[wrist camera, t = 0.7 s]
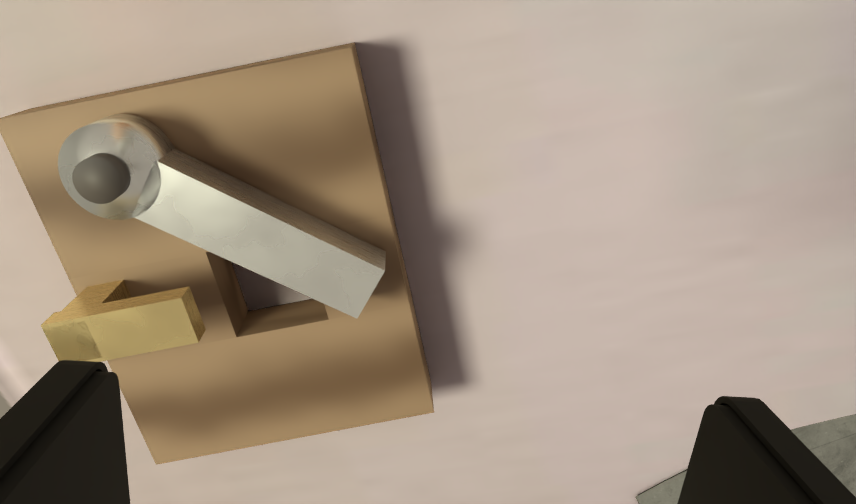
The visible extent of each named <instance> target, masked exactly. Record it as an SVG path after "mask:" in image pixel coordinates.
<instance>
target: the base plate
mask: <svg viewBox="0 0 856 504" xmlns="http://www.w3.org/2000/svg"><path fill="white" fill-rule="evenodd" d="M114 114H132V115H136V116H140V117H142V118H145V119H147V120H149V121H151V122H152V123H154V124H155V125H157V126H158V127H159V128H160V129H161V130H162V131H163V132H164V133H165V134H166V135H167V136H168V138H169V139H170V141H171V142H172V144H173V146H174V148H175V149H177V150H179V151H181V152H183V153H185V154H187V155H189V156H191V157H193V158H195V159H197V160H199V161H201V162H203V163H205V164H207V165H209V166H211V167H213V168H216V169H218V170H220V171H222V172H224V173H226V174H228V175H230V176H232V177H234V178H236V179H238V180H240V181H242V182H244V183H246V184H248V185H250V186H252V187H254V188H257V189H259V190H261V191H263V192H265V193H267V194H269V195H271V196H273V197H275V198H277V199H279V200H281V201H283V202H285V203H287V204H289V205H291V206H293V207H295V208H297V209H300V210H302V211H304V212H306V213H308V214H310V215H312V216H314V217H316V218H318V219H320V220H322V221H324V222H326V223H328V224H330V225H332V226H334V227H336V228H338V229H340V230H343V231H345V232H347V233H349V234H351V235H353V236H355V237H357V238H359V239H361V240H363V241H365V242H367V243H369V244H371V245H373V246H375V247H377V248H379V249H381V250H383V251H386V259H385V272H384V274H383V275H382V277H381V279H380V280H379V282H378V284H377V286H376V287H375V289H374V291H373V293H372V294H371V296H370V298H369V299H368V301H367V303H366V305H365V306H364V308H363V310H362V311H361V313H360V315H359V317H358V318H354V317H352V316H350V315H348V314H346V313H343V312H341V311H339V310H337V309H335V308H332V307H330V306H328V305H326V304H324V303H321V302H319V301H317V300H315V299H310V300H305V301H299V302H294V303H289V304H284V305H279V306H274V307H268V308H263V309H258V310H253V311H248V309H247V306H246V303H245V300H244V297H243V294H242V292H241V289H240V286H239V283H238V280H237V277H236V274H235V271H234V269H233V266H232V263H231V261H229V260H227V259H224V258H222V257H220V256H218V255H216V254H213V253H211V252H209V251H207V250H205V249H202V248H200V247H198V246H196V245H194V244H191V243H189V242H187V241H185V240H183V239H180V238H178V237H176V236H174V235H172V234H169V233H167V232H165V231H163V230H161V229H158V228H156V227H154V226H152V225H149V224H147V223H145V222H143V221H141V220H138V219H136V218H130V219H125V220H112V219H106V218H103V217H99V216H97V215H94V214H92V213H90V212H88V211H87V210H85V209H84V208H82V207H81V206H80V205H79V204H77V203H76V202H75V201H74V200H73V199H72V198H71V196H70V195H69V194H68V192H67V191H66V189H65V188H64V186H63V184H62V181H61V179H60V175H59V171H58V155H59V152H60V149H61V146H62V144H63V143H64V141H65V140H66V138H67V137H68V136H69V135H70V134H71V133H73V132H74V131H76V130H77V129H79V128H81V127H83V126H86V125H88V124H90V123H93V122H95V121H97V120H100V119H102V118H104V117H107V116H110V115H114ZM0 133H1V135H2V137H3V139H4V141H5V143H6V146H7V148H8V150H9V152H10V154H11V156H12V158H13V160H14V163H15V165H16V167H17V169H18V171H19V173H20V175H21V177H22V180H23V182H24V184H25V186H26V188H27V190H28V192H29V195H30V197H31V199H32V201H33V203H34V205H35V207H36V209H37V212H38V214H39V216H40V218H41V220H42V222H43V224H44V226H45V229H46V231H47V233H48V235H49V237H50V239H51V241H52V244H53V246H54V248H55V250H56V252H57V254H58V256H59V258H60V261H61V263H62V265H63V267H64V269H65V271H66V273H67V276H68V278H69V280H70V282H71V284H72V286H73V288H74V290H75V293H76V295H77V296H78V295H79V294H80V293H81V292H82V291H83V290H84V289H85V288H86V287H88V286H93V285H98V284H103V283H108V282H113V281H119V280H124V281H125V283H126V286H127V288H128V290H129V293H130V295H131V297H137V296H142V295H147V294H153V293H158V292H163V291H168V290H173V289H178V288H183V287H188V286H189V287H190V290H191V292H192V295H193V297H194V300H195V303H196V305H197V308H198V310H199V313H200V316H201V318H202V321H203V323H204V326H205V329H206V330H205V332H204V334H203V336H202V338H201V339H200V341H199V343H194V344H189V345H184V346H178V347H173V348H168V349H163V350H158V351H153V352H147V353H142V354H137V355H132V356H127V357H121V358H116V359H111V360H107V361H108V363H109V365H110V367H111V369H112V371H113V372H114V373H116V374H117V376H118V380H119V386H120V388H121V391H122V393H123V395H124V397H125V399H126V401H127V403H128V406H129V408H130V410H131V412H132V414H133V416H134V418H135V420H136V423H137V425H138V427H139V429H140V431H141V433H142V435H143V437H144V440H145V442H146V444H147V446H148V448H149V450H150V452H151V455H152V457H153V459H154V461H155V463H156V464H162V463H167V462H172V461H178V460H183V459H188V458H194V457H199V456H204V455H210V454H215V453H220V452H225V451H231V450H236V449H241V448H247V447H252V446H257V445H263V444H268V443H273V442H279V441H284V440H289V439H295V438H300V437H305V436H311V435H316V434H321V433H326V432H332V431H337V430H342V429H348V428H353V427H358V426H364V425H369V424H374V423H380V422H385V421H390V420H396V419H401V418H406V417H412V416H417V415H422V414H427V413H433V412H434V408H433V398H432V387H431V380H430V376H429V371H428V367H427V362H426V358H425V354H424V349H423V345H422V340H421V336H420V331H419V327H418V322H417V318H416V313H415V309H414V305H413V300H412V296H411V291H410V287H409V282H408V278H407V273H406V269H405V265H404V260H403V256H402V251H401V247H400V242H399V238H398V233H397V229H396V224H395V220H394V216H393V211H392V207H391V202H390V198H389V193H388V189H387V184H386V180H385V175H384V171H383V167H382V162H381V158H380V153H379V149H378V144H377V140H376V135H375V131H374V127H373V122H372V118H371V113H370V109H369V104H368V100H367V95H366V91H365V86H364V82H363V78H362V73H361V69H360V64H359V60H358V55H357V51H356V46H355V42H354V43H350V44H345V45H340V46H335V47H330V48H325V49H320V50H315V51H310V52H305V53H301V54H296V55H291V56H286V57H281V58H276V59H271V60H266V61H261V62H257V63H252V64H247V65H242V66H237V67H232V68H227V69H222V70H217V71H212V72H208V73H203V74H198V75H193V76H188V77H183V78H178V79H173V80H168V81H164V82H159V83H154V84H149V85H144V86H139V87H134V88H129V89H124V90H119V91H115V92H110V93H105V94H100V95H95V96H90V97H85V98H80V99H75V100H70V101H66V102H61V103H56V104H51V105H46V106H41V107H36V108H31V109H28V110H24V111H21V112H18V113H15V114H12V115H9V116H6V117H2V118H0ZM72 181H73V184H74V187H75V189H76V190H77V192H78V193H79V194H80V195H81V196H82V197H83V198H85V199H86V200H88V201H90V202H93V203H96V204H106V203H110V202H112V201H114V200H115V199H116V198H118V197H119V196H120V195H122V194H123V193H124V192H125V191H126V190H127V189H128V187H129V185H130V181H131V176H130V172H129V170H128V168H127V166H126V165H125V163H124V162H123V161H122V160H121V159H119V158H118V157H116V156H114V155H112V154H108V153H97V154H94V155H92V156H90V157H88V158H86V159H85V160H83V161H81V162H79V163H78V164H77V165H76V166H75V168H74V170H73V174H72Z"/></svg>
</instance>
